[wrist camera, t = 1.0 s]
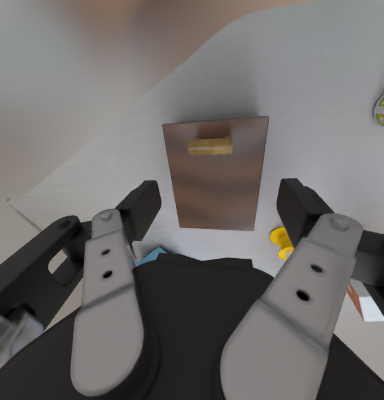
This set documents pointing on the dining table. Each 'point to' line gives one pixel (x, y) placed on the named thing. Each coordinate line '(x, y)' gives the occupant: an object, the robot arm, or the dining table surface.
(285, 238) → the candle
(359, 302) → the small box
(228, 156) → the lid
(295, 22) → the dining table surface
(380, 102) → the supplement bottle
